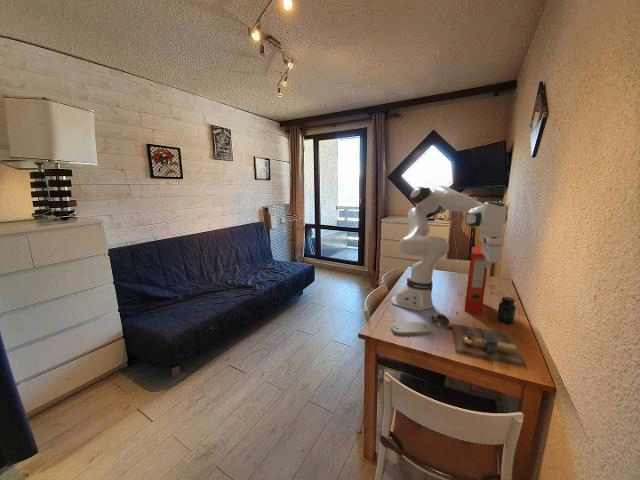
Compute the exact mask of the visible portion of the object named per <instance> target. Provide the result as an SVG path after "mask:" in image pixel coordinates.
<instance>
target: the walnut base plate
mask: <svg viewBox="0 0 640 480" xmlns="http://www.w3.org/2000/svg"><path fill="white" fill-rule="evenodd" d="M451 328H452V329H451V330H452V336H453V337H452V338H453V342H454V343H453V344H454V350H455V354H461V355H465V356H471V357H475V358H479V359H486V360H490V361H495V362H500V363H505V364H510V365H516V366H521V367H526V361H525V359H524V358H523V356H522V353H521V352H520V350H519V348H518V346H517V344H516V343H515V341H514V339H513V337H512V335H511V334H510V332H506V331H499V330H494V329H493V330H492V329H487V328H482V327H475V326H470V325H464V324H463V325H462V324H456V323H451ZM468 331H471V332H472V337H475V338H481V339H483V336H482V334H483V332H484V333H490V334H494V335H495V337H496V340H497V342H503V343H508V344H513V345H515V346H516V348H517V351H516V355H515V354H509V353H504V352H499V351H494V355H493V354H488V353H486V350H485V349H484V348H479V347H474V346H467V345H465V344H464V343H463V337H464V336H466V335H467V332H468Z"/></svg>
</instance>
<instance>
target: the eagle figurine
mask: <svg viewBox="0 0 640 480" xmlns="http://www.w3.org/2000/svg"><path fill="white" fill-rule="evenodd" d="M435 315H436V317H435V316H434V315H433V314H432V315H431V316H429V319H430V320H431V322H432V324H434V323H437V326H438V328H440V327H441V324H442V325H444V326H445V328H447V329H448V330H452V325H450V320H449V318H448V317H447V316H446V315H444V314H440V313H439V314H437V313H436V312H435Z"/></svg>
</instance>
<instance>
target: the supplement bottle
mask: <svg viewBox="0 0 640 480" xmlns="http://www.w3.org/2000/svg"><path fill="white" fill-rule="evenodd" d="M497 309H498V310H497V317H496V319H497V322H500V323H501V324H504V325H513V324H514V323H515V317H516V316H515V315H516V310H517V305H516V304H515V298H513V297H509V296H502V298H501V301H500V302H499V303H498V308H497Z"/></svg>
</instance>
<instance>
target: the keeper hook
mask: <svg viewBox="0 0 640 480" xmlns="http://www.w3.org/2000/svg"><path fill="white" fill-rule="evenodd" d="M482 336H483V339H484V342H485V344H486V348H485V350H486V353H488V354H493V355H494V350H495V346H498V342H497V340H496V337H495V335H494V334H490V333H484V332H483V334H482Z"/></svg>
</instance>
